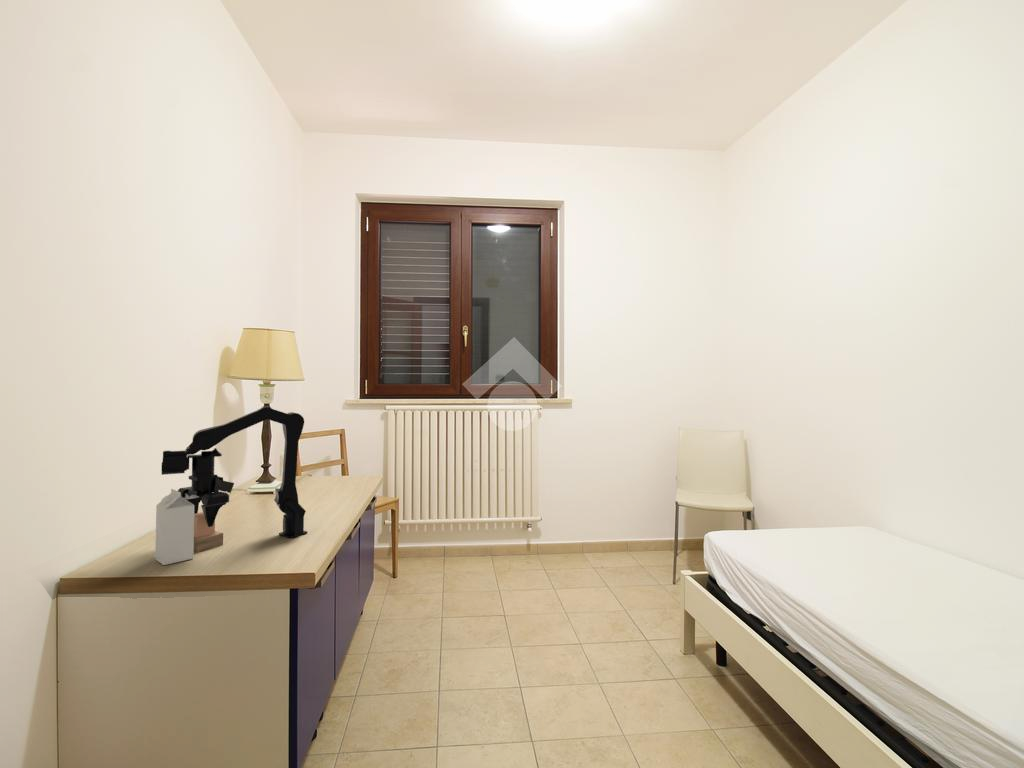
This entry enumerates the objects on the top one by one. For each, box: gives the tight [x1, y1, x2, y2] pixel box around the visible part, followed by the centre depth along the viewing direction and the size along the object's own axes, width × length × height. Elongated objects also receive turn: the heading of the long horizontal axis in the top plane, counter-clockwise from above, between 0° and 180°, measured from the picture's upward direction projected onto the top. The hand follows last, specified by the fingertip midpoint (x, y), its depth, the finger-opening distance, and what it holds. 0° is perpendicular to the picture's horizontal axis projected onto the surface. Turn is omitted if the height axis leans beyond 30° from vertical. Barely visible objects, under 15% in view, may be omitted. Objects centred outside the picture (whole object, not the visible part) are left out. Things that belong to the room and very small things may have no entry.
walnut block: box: [193, 531, 224, 554], centre depth 149 cm, size 8×8×4 cm
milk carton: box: [154, 488, 194, 566], centre depth 138 cm, size 7×7×19 cm
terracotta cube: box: [194, 511, 216, 538], centre depth 149 cm, size 5×5×6 cm
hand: (202, 524), depth 149 cm, fingers open, 9 cm apart
